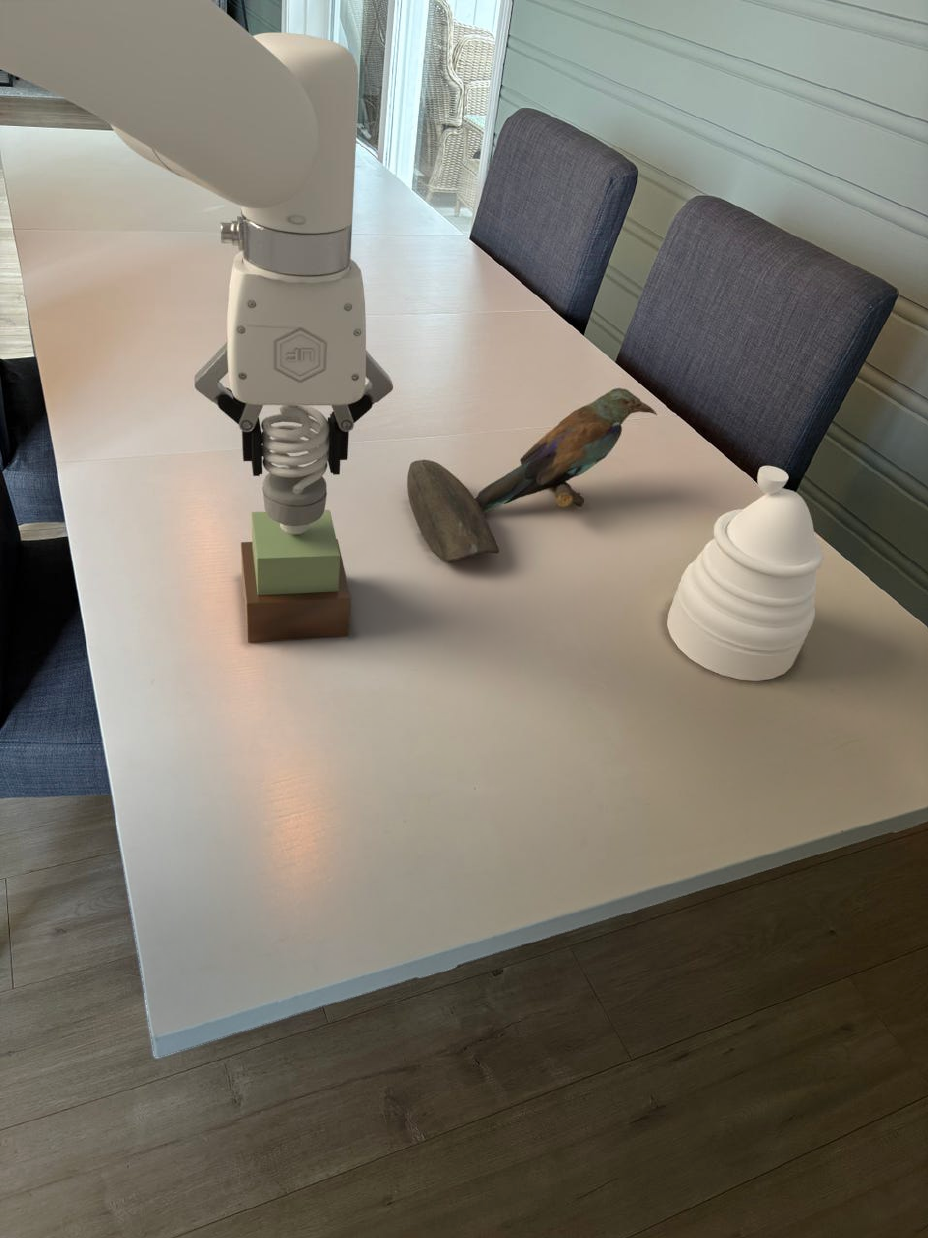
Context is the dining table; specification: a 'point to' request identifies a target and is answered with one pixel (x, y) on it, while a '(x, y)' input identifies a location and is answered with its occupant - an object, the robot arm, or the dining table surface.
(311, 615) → the base block
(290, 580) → the top block
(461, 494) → the decorative stone
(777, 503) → the honey pot
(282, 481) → the light bulb
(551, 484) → the bird figurine
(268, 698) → the dining table surface
